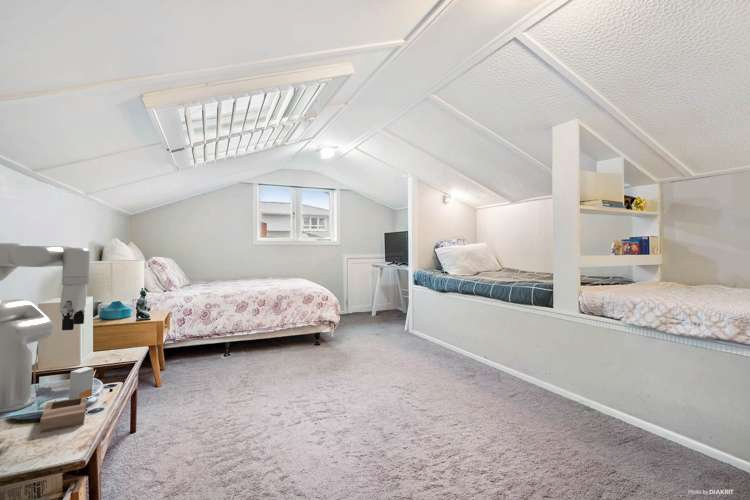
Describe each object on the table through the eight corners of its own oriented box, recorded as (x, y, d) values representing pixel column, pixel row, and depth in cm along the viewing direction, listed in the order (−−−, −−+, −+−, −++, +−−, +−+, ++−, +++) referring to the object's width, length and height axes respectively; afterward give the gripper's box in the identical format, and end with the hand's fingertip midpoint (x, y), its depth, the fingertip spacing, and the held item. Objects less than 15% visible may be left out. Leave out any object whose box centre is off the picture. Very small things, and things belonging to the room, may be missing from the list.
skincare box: (77, 403, 135) (78, 372, 135) (68, 402, 136) (69, 371, 136) (92, 397, 141) (94, 367, 141) (84, 395, 142) (85, 366, 142)
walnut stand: (46, 415, 125) (47, 402, 125) (86, 408, 132) (86, 396, 132) (39, 433, 114) (40, 419, 114) (83, 424, 121) (84, 411, 121)
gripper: (72, 278, 136) (70, 322, 136) (51, 283, 120) (49, 333, 120) (96, 278, 139) (93, 321, 139) (79, 283, 123) (76, 332, 123)
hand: (73, 326), depth 130 cm, fingers open, 9 cm apart
